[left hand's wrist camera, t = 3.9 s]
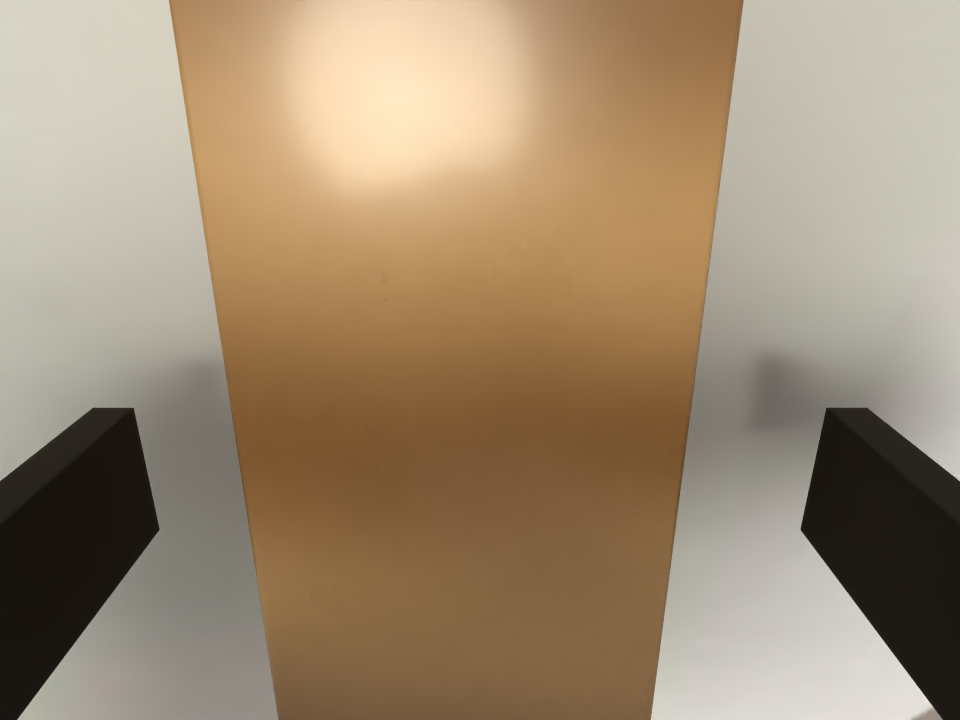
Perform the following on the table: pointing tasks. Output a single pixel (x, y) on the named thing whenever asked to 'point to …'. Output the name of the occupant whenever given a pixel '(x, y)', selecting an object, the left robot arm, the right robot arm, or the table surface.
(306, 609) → the post
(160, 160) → the table surface
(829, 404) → the table surface
